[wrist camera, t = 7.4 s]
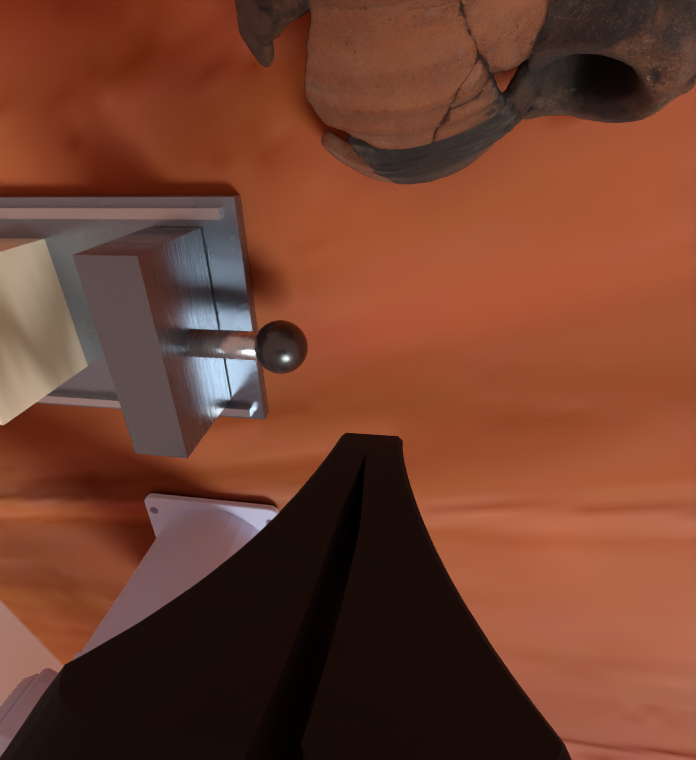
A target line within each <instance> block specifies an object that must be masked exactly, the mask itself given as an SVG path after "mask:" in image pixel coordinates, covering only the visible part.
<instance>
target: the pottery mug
mask: <svg viewBox="0 0 696 760" xmlns="http://www.w3.org/2000/svg"><path fill="white" fill-rule="evenodd" d="M235 4H236V9H237V17H238V27H239V32H240V34H241V36H242V38H243V40H244V41H245V43H246V45H247V46H248V48H249V49H250V51H251V52H252V54H253V55H254V56H255V58H256V59H257V61H258V62H259V63H260V64H261V65H263V66H264V67H269V66H270V65H271V63H272V61H273V58H274V46H273V39H276V38H278V37H279V35H280V33H281V32H282V31H283V30H284V29H285V28H286V27H287V26H288V25H289V24H290V22H291V21H293V20H295V19H298V18H300V17H301V16H303V15H304V14H306V13H308V12H310V26H309V29H308V35H307V41H306V46H307V58H306V64H305V97H306V99H307V100H308V101H309V102H310V104H311V105H312V107H313V109H314V110H315V112H316V114H317V115H318V116H319V117H320V119H321V120H322V121H323V122H324V123H325V124H326V125H328V126H331V127H333V128H336V129H340V130H343V131H346V132H347V133H349V135H348V142H347V141H345V140H344V139H342V138H341V137H339V136H338V135H336V134H335V133H333V132H331V131H326V132H325V133H324V135H323V137H322V140H321V142H322V145H323V146H324V148H325V149H326V150H327V151H328V152H329V153H330V154H332V155H333V156H334V157H335V158H336V159H338V160H339V161H341V162H342V163H344V164H345V165H347V166H350V167H351V168H353V169H354V170H356V171H358V172H359V173H361V174H363V175H365V176H368V177H371V178H373V179H376V180H381V181H385V182H392V183H396V184H416V183H426V182H430V181H433V180H437V179H440V178H443V177H446V176H449V175H451V174H454V173H456V172H458V171H460V170H461V169H463V168H465V167H467V166H468V165H470V164H471V163H473V162H474V161H475V160H476V159H477V158H479V157H480V156H481V155H482V154H483V153H485V152H486V151H487V150H488V149H489V148H490V147H491V146H492V145H493V144H494V143H495V142H496V141H498V140H499V139H501V138H502V137H503V136H504V135H505V134H506V133H507V132H510V131H511V130H512V129H513V128H514V126H516V125H517V124H518V123H519V122H520V121H521V120H522V119H532V118H536V117H540V116H547V115H569V116H574V117H577V118H580V119H585V120H592V121H599V122H605V123H622V122H633V121H638V120H642V119H644V118H647V117H649V116H651V115H653V114H655V113H656V112H658V111H660V110H661V109H662V108H664V107H665V106H666V105H667V104H669V103H670V102H671V101H673V100H674V99H675V98H676V97H678V96H680V95H682V94H684V93H687V92H688V91H690V90H691V89H692V88H693V87H694V85H695V83H696V0H235ZM519 65H520V66H519ZM517 66H519V67H518V69H517V71H516V73H515V75H514V76H513V78H512V79H511V81H510V83H509V85H508V87H507V89H506V90H505V91H504V92H501V91H500V90H499V88H498V86H497V83H496V81H495V79H494V76H495V74H497V73H499V72H501V71H508V70H511V69H513V68H515V67H517Z"/></svg>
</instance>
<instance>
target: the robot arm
mask: <svg viewBox="0 0 696 760" xmlns="http://www.w3.org/2000/svg"><path fill="white" fill-rule="evenodd" d="M144 502H145V506H146V509H147V512H148V515H149V518H150V521H151V524H152V527H153V530H154V533H155V536H156V539H155V541H154V542H153V544H152V545H151V547H150V549H149V550H148V552H147V553H146V555H145V556H144V558H143V559H142V561H141V562H140V564H139V565H138V567H137V568H136V570H135V571H134V573H133V574H132V576H131V577H130V579H129V580H128V582H127V583H126V585H125V586H124V588H123V589H122V591H121V592H120V594H119V595H118V597H117V598H116V600H115V601H114V603H113V604H112V606H111V607H110V609H109V610H108V612H107V613H106V615H105V616H104V618H103V619H102V621H101V622H100V624H99V626H98V627H97V629H96V630H95V632H94V633H93V635H92V636H91V638H90V639H89V641H88V642H87V644H86V645H85V647H84V648H83V650H82V651H81V652H78V653H77V654H76V655H75V657H74V658H73V660H72V661H71V662H69V663H67V664H65V666H64V667H63V668H62V670H61V671H60V672H59V673H57V672H55V671H53V670H52V669H49V668H46V669H44V670H43V671H42V672H41V673H40V674H35V675H32V676H30V677H27V678H25V679H23V680H22V681H21V682H20V683H19V685H18V686H17V687H16V688H15V689H14V690H13V691H12V693H11V694H10V695H9V696H8V698H7V699H6V700H5V701H4V703H3V704H2V705H1V706H0V760H571V757H570V755H569V753H568V751H567V749H566V746H565V744H564V743H563V741H562V740H561V739H560V737H559V736H558V735H557V734H556V732H555V731H554V730H553V728H552V727H551V726H550V725H549V723H548V722H547V721H546V720H545V718H544V717H543V716H542V714H541V713H540V712H539V711H538V709H537V708H536V707H535V705H534V704H533V703H532V701H531V700H530V699H529V697H528V696H527V695H526V693H525V692H524V691H523V689H522V688H521V687H520V685H519V684H518V683H517V681H516V680H515V678H514V677H513V675H512V674H511V673H510V671H509V670H508V668H507V667H506V665H505V664H504V663H503V661H502V660H501V658H500V657H499V656H498V654H497V653H496V651H495V650H494V648H493V647H492V645H491V644H490V642H489V641H488V639H487V637H486V636H485V634H484V633H483V631H482V630H481V628H480V626H479V625H478V623H477V622H476V620H475V619H474V617H473V615H472V614H471V612H470V611H469V609H468V608H467V606H466V604H465V603H464V601H463V599H462V598H461V596H460V594H459V592H458V591H457V589H456V587H455V585H454V584H453V582H452V580H451V578H450V576H449V575H448V573H447V571H446V569H445V567H444V565H443V563H442V561H441V559H440V557H439V555H438V553H437V551H436V549H435V547H434V545H433V542H432V540H431V538H430V536H429V534H428V531H427V529H426V526H425V524H424V522H423V519H422V517H421V514H420V512H419V509H418V507H417V504H416V501H415V498H414V495H413V492H412V489H411V486H410V483H409V479H408V475H407V471H406V467H405V463H404V457H403V441H402V440H401V439H400V438H399V437H398V436H386V435H371V434H356V433H345V434H344V435H343V436H341V438H340V439H339V441H338V442H337V444H336V445H335V447H334V448H333V449H332V451H331V452H330V453H329V455H328V456H327V457H326V459H325V460H324V461H323V463H322V464H321V465H320V466H319V468H318V469H317V470H316V471H315V473H314V474H313V475H312V476H311V477H310V479H309V480H308V481H307V482H306V483H305V485H304V486H303V487H302V488H301V489H300V490H299V492H298V493H297V494H296V495H295V496H294V497H293V498H292V499H291V500H290V501H289V502H288V503H287V504H286V506H285V507H284V508H283V509H282V510H281V511H280V512H279V510H278V509H277V508H276V507H274V506H272V505H264V504H254V503H244V502H234V501H225V500H215V499H205V498H195V497H185V496H175V495H165V494H155V493H150V494H148V496H147V497H146V498H145V500H144ZM269 519H270V520H269Z"/></svg>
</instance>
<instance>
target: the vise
mask: <svg viewBox="0 0 696 760" xmlns="http://www.w3.org/2000/svg"><path fill="white" fill-rule="evenodd" d="M147 227H180V228H201V234H202V239H203V245H204V251H205V256H206V262H207V268H208V273H209V279H210V285H211V290H212V296H213V302H214V308H215V313H216V319H217V325H218V330H236V331H258V330H257V322H256V315H255V307H254V299H253V292H252V284H251V276H250V269H249V261H248V253H247V246H246V238H245V230H244V223H243V215H242V207H241V200H240V195H38V196H0V238H30V239H45V242H46V245H47V248H48V251H49V253H50V256H51V259H52V262H53V265H54V268H55V271H56V274H57V277H58V280H59V283H60V286H61V289H62V292H63V294H64V297H65V300H66V303H67V306H68V309H69V312H70V315H71V318H72V321H73V324H74V327H75V330H76V333H77V336H78V338H79V341H80V344H81V347H82V350H83V353H84V356H85V359H86V362H87V365H88V366H87V367H86V368H84V369H83V370H81V371H80V372H79V373H77V374H76V375H74V376H73V377H72V378H70V379H69V380H67V381H66V382H64V383H63V384H62V385H60V386H59V387H57V388H56V389H55V390H53V391H52V392H50V393H49V394H47V395H46V396H45V397H43V398H42V399H40V400H39V401H38V402H36V403H45V404H59V405H72V406H86V407H100V408H114V409H121V406H120V403H119V400H118V397H117V394H116V391H115V387H114V384H113V381H112V378H111V375H110V372H109V369H108V365H107V362H106V359H105V356H104V353H103V350H102V347H101V343H100V340H99V337H98V334H97V331H96V328H95V325H94V321H93V318H92V315H91V312H90V309H89V306H88V303H87V299H86V296H85V293H84V290H83V287H82V284H81V281H80V277H79V274H78V271H77V268H76V265H75V262H74V259H73V254H76V253H79V252H82V251H84V250H87V249H90V248H93V247H95V246H98V245H101V244H104V243H106V242H109V241H112V240H115V239H117V238H120V237H123V236H126V235H128V234H131V233H134V232H137V231H139V230H142V229H145V228H147ZM224 364H225V370H226V376H227V381H228V387H229V393H230V401H229V402H228V403H227V405H226V406H225V407H224V409H223V410H222V411H221V413H220V414H219V416H225V417H238V418H252V419H265V417H266V416H267V414H268V407H267V399H266V391H265V384H264V376H263V368H262V365H261V364H260V363H259V361H258V360H239V359H224Z"/></svg>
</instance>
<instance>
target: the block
mask: <svg viewBox="0 0 696 760" xmlns="http://www.w3.org/2000/svg"><path fill="white" fill-rule="evenodd" d="M87 366H88V365H87V362H86V359H85V356H84V353H83V350H82V347H81V344H80V341H79V338H78V336H77V333H76V330H75V327H74V324H73V321H72V318H71V315H70V312H69V309H68V306H67V303H66V300H65V297H64V294H63V292H62V289H61V286H60V283H59V280H58V277H57V274H56V271H55V268H54V265H53V262H52V259H51V256H50V253H49V251H48V248H47V245H46V242H45V239H30V238H0V425H5V424H6V423H8V422H9V421H11V420H12V419H13V418H15V417H16V416H18V415H19V414H21V413H22V412H23V411H25V410H26V409H28V408H29V407H30V406H32V405H33V404H35V403H36V402H38V401H39V400H40V399H42V398H43V397H45V396H46V395H47V394H49V393H50V392H52V391H53V390H55V389H56V388H57V387H59V386H60V385H62V384H63V383H64V382H66V381H67V380H69V379H70V378H72V377H73V376H74V375H76V374H77V373H79V372H80V371H81V370H83V369H84V368H86V367H87Z"/></svg>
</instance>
